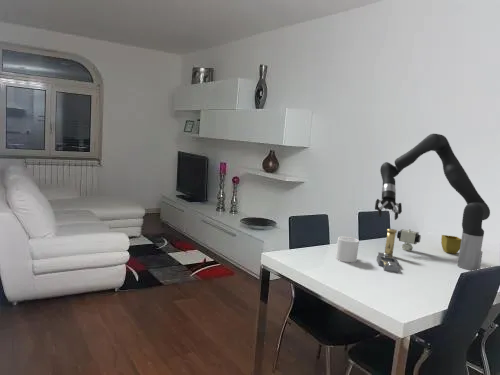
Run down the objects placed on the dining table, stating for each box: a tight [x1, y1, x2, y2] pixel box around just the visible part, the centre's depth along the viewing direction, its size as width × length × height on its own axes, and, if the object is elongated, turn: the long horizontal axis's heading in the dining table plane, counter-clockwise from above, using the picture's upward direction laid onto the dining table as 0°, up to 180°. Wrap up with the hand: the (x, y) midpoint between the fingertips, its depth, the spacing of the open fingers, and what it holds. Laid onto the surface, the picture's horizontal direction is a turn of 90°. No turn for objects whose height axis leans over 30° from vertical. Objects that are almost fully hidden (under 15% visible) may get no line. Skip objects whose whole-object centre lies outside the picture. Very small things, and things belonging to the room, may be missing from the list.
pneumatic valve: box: [396, 229, 422, 252], centre depth 221 cm, size 6×12×12 cm, turn 54°
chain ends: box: [376, 252, 400, 273], centre depth 189 cm, size 9×23×3 cm, turn 169°
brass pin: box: [384, 228, 398, 257], centre depth 204 cm, size 5×5×14 cm
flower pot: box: [441, 234, 462, 255], centre depth 224 cm, size 9×9×9 cm
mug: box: [335, 236, 360, 264], centre depth 191 cm, size 13×10×10 cm
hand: (387, 217), depth 217 cm, fingers open, 8 cm apart
